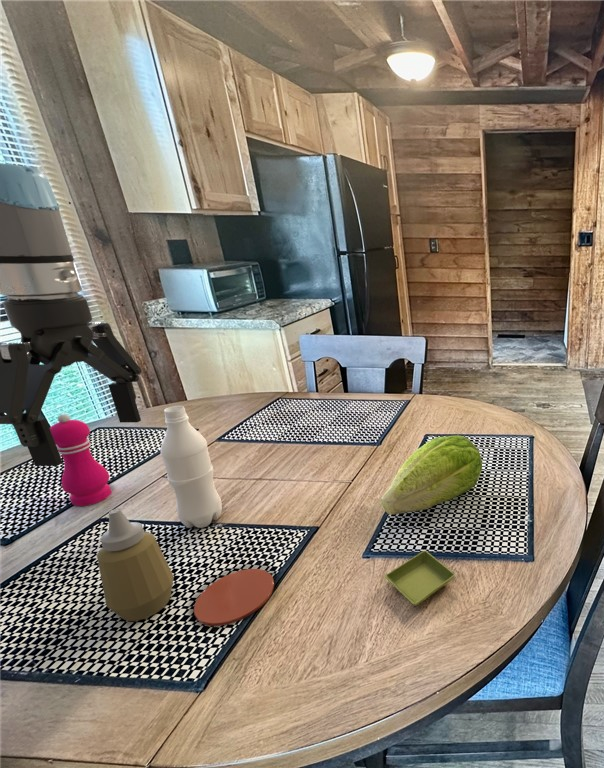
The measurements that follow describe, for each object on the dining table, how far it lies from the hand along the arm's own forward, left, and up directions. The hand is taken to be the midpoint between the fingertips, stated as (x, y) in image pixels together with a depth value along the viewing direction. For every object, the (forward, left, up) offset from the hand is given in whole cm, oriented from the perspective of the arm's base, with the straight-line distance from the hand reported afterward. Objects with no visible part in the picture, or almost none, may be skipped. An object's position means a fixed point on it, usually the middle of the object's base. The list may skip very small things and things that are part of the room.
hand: (94, 441), depth 61 cm
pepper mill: (-37, -3, -27) cm, 46 cm away
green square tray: (+35, +31, -27) cm, 54 cm away
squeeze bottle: (+7, -1, -27) cm, 28 cm away
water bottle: (-11, +12, -27) cm, 31 cm away
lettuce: (+17, +48, -27) cm, 58 cm away
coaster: (+15, +9, -27) cm, 32 cm away
